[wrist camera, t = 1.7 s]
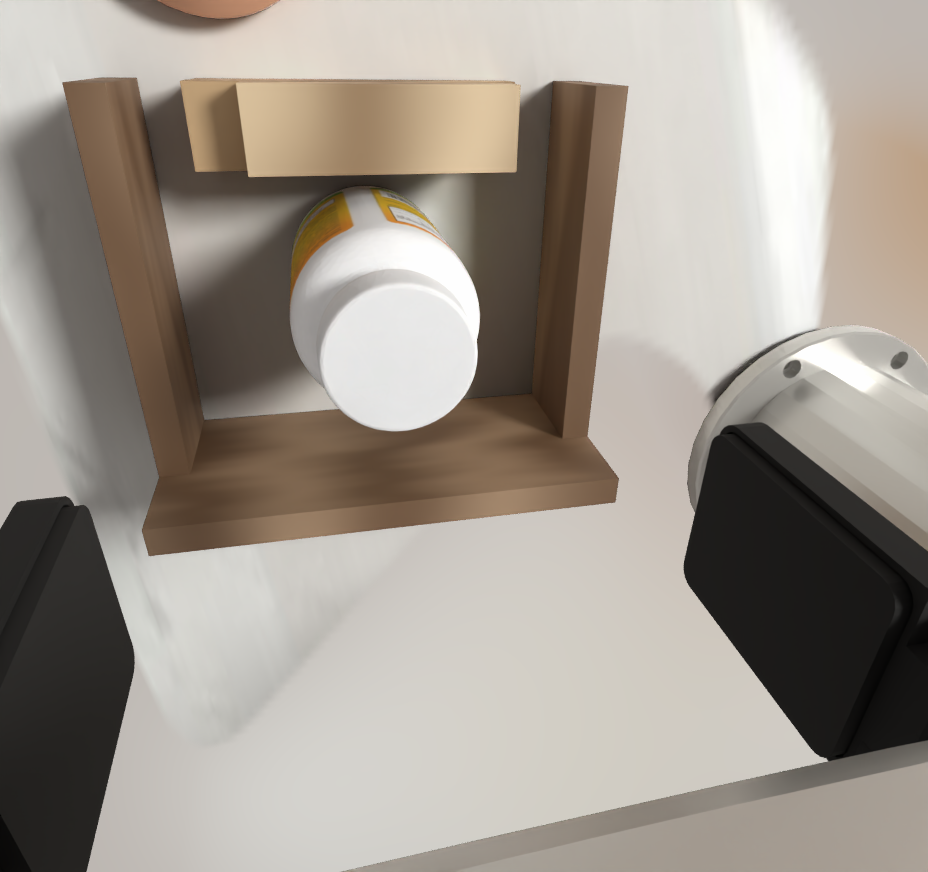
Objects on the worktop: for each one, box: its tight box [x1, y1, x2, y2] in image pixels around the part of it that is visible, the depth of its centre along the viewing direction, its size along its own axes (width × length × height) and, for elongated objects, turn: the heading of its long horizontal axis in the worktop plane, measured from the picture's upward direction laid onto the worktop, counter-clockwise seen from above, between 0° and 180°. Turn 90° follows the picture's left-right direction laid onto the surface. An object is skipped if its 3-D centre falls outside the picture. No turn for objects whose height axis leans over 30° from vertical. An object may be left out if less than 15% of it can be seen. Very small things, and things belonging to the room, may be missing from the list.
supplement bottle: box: [289, 186, 480, 431], centre depth 21 cm, size 5×5×10 cm
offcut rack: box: [63, 78, 628, 556], centre depth 22 cm, size 15×13×7 cm
